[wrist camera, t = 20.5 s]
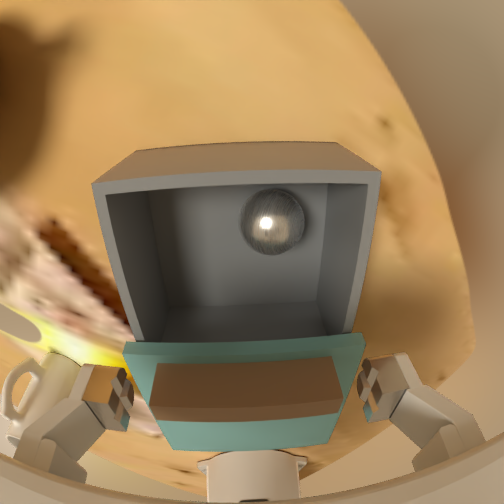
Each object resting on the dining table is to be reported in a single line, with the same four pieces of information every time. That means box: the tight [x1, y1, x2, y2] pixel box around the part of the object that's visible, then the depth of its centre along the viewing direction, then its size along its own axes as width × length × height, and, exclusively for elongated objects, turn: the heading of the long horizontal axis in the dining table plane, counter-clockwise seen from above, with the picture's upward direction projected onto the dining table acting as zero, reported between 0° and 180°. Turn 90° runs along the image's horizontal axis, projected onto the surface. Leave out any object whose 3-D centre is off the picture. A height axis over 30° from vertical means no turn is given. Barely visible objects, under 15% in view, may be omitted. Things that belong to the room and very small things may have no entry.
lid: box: [122, 332, 366, 452], centre depth 19 cm, size 14×14×4 cm
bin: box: [92, 141, 381, 343], centre depth 19 cm, size 13×13×7 cm
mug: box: [0, 353, 81, 448], centre depth 23 cm, size 10×7×12 cm, turn 11°
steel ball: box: [238, 189, 305, 256], centre depth 19 cm, size 4×4×4 cm
